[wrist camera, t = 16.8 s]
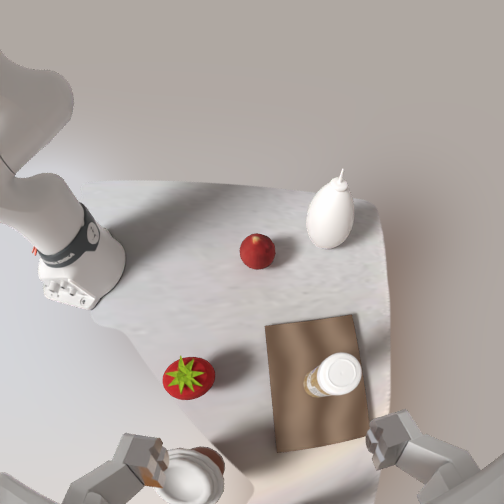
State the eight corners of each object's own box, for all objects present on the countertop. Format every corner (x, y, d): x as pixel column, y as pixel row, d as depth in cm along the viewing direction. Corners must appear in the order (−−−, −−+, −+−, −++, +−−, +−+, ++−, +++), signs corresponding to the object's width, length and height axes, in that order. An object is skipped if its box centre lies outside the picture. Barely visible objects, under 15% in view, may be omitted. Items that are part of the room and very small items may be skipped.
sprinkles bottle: (313, 363, 37) (335, 343, 26) (338, 378, 36) (370, 364, 24) (296, 388, 35) (311, 380, 24) (322, 403, 34) (348, 402, 22)
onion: (264, 243, 50) (263, 216, 43) (281, 267, 47) (283, 242, 41) (236, 257, 49) (231, 231, 42) (251, 283, 46) (249, 259, 39)
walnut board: (276, 450, 32) (277, 452, 30) (265, 328, 42) (264, 325, 41) (366, 433, 31) (370, 434, 30) (349, 317, 42) (351, 314, 41)
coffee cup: (181, 431, 33) (151, 439, 23) (239, 447, 32) (229, 464, 22) (170, 478, 29) (138, 498, 19) (227, 495, 28) (212, 524, 17)
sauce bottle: (349, 255, 48) (379, 186, 33) (309, 262, 48) (326, 191, 32) (336, 222, 52) (356, 150, 37) (298, 227, 52) (308, 153, 36)
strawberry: (169, 373, 39) (144, 363, 30) (212, 355, 40) (196, 341, 31) (184, 406, 36) (160, 406, 27) (228, 389, 37) (216, 385, 29)
